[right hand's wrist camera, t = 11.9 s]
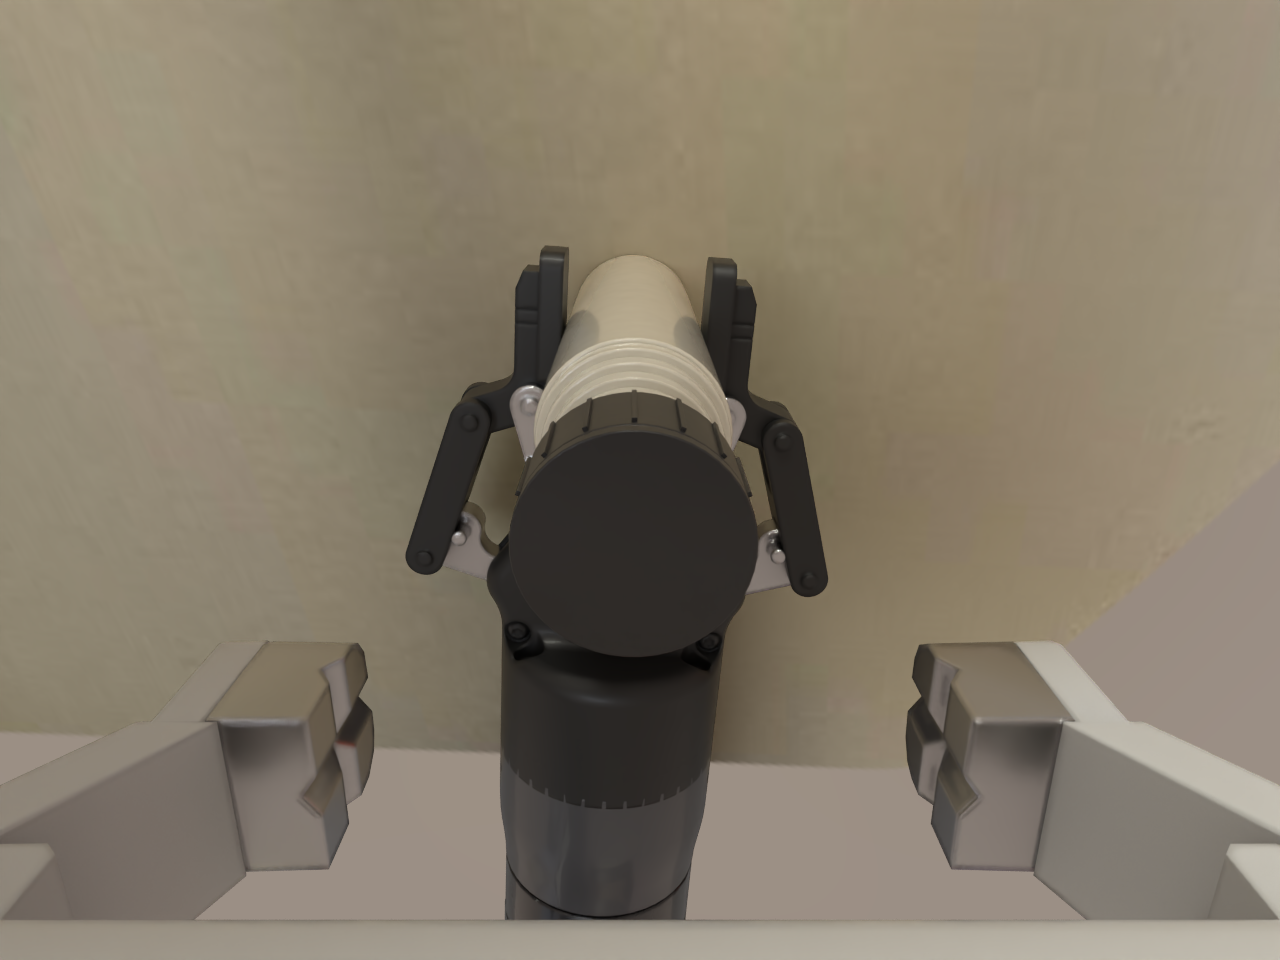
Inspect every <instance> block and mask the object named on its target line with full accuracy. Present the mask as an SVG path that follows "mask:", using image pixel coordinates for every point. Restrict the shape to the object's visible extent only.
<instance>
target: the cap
mask: <svg viewBox="0 0 1280 960" xmlns="http://www.w3.org/2000/svg"><path fill="white" fill-rule="evenodd" d="M515 495H517V496H519V497H518V500H517V503H516V506H515V509H514V512H513V517H512V521H511V525H510V531H509V535H508V539H509V556H510V561H511V566H512V571H513V574H514V577H515V580H516V583H517V585H518V587H519V589H520V591H521V593H522V595H523V597H524V599H525V600H526V601H527V603H528V604H529V606H530V607H531V609H532V610H533V611H534V612H535V613H536V614H537V616H538V617H539V618H540V619H541V620H542V621H543V622H544V623H545V624H546V625H548V626H549V627H550V628H551V629H552V630H553V631H555V632H556V633H558V634H559V635H561V636H562V637H564V638H565V639H567V640H569V641H571V642H573V643H575V644H577V645H579V646H581V647H584V648H586V649H589V650H592V651H595V652H599V653H603V654H607V655H614V656H622V657H645V656H654V655H659V654H664V653H668V652H672V651H675V650H678V649H680V648H683V647H686V646H688V645H690V644H692V643H694V642H696V641H698V640H700V639H702V638H703V637H705V636H706V635H708V634H709V633H711V632H712V631H713V630H715V629H716V628H717V627H718V626H719V625H721V624H722V623H723V622H724V621H725V620H726V619H727V618H728V617H729V616H730V615H731V613H732V612H733V611H734V610H735V609H736V607H737V606H738V604H739V603H740V602H741V600H742V599H743V597H744V595H745V593H746V591H747V589H748V587H749V585H750V583H751V580H752V577H753V574H754V572H755V567H756V562H757V557H758V540H759V535H758V530H757V524H756V519H755V515H754V511H753V508H752V505H751V502H750V499H749V497H751V496H752V493H751V490H750V487H749V484H748V481H747V478H746V476H745V473H744V470H743V467H742V464H741V461H740V458H739V457H737V458H735V456H734V453H733V451H732V449H731V448H730V446H729V444H728V442H727V440H726V439H725V438H724V436H723V435H722V434H721V432H720V430H719V427H718V424H717V423H716V422H714V423H713V424H712V423H711V422H710V421H709V420H708V419H707V418H706V417H704V416H703V415H702V414H700V413H699V412H698V411H696V410H695V409H693V408H691V407H689V406H688V405H686V404H684V403H682V401H681V399H679V398H676V400H675V399H672V398H669V397H665V396H662V395H658V394H652V393H644V392H637V390H632V392H623V393H615V394H609V395H605V396H601V397H598V398H595V399H593V400H592V398H591V397H590V398H588V399H587V401H586V402H585V403H583V404H581V405H579V406H577V407H576V408H574V409H572V410H571V411H569V412H568V413H567V414H565V415H564V416H562V417H561V418H560V419H559V420H558V421H557V422H556V423H555V422H554V421H552V422H551V423H550V426H549V429H548V431H547V432H546V434H545V435H544V436H543V438H542V439H541V440H540V442H539V444H538V446H537V447H536V449H535V451H534V453H533V455H532V457H530V456H528V458H527V461H526V464H525V467H524V470H523V473H522V476H521V479H520V482H519V485H518V488H517V491H516V494H515Z"/></svg>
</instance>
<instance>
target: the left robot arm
mask: <svg viewBox="0 0 1280 960" xmlns="http://www.w3.org/2000/svg"><path fill="white" fill-rule="evenodd" d="M568 268H569V247H560V246H544V248H543V249H542V250H541V253H540V264H539V265H528V266H527V267H526V268H525V269H524V270H523V272H522V274H521V277H520V279H519V281H518V284H517V286H516V293H515V354H514V373H513V374H512V375H510V376H509V377H507V378H505V379H502V380H499V381H495V382H492V383H485V382H477V383H474V384H472V385H471V386H469V387H468V388H467V390H466V391H465V393H464V394H463V396H462V399H461V401H460V402H459V403H458V404H457V405H456V406H455V407H454V409H453V410H452V412H451V414H450V417H449V420H448V423H447V426H446V429H445V432H444V436H443V439H442V442H441V445H440V448H439V451H438V454H437V457H436V460H435V464H434V467H433V470H432V473H431V476H430V479H429V482H428V485H427V488H426V492H425V495H424V498H423V501H422V504H421V507H420V510H419V513H418V516H417V519H416V523H415V526H414V529H413V532H412V535H411V538H410V541H409V544H408V547H407V551H406V561H407V564H408V565H409V567H410V568H411V569H412V570H413V571H415V572H417V573H419V574H424V575H429V574H433V573H435V572H437V571H438V570H439V569H440V568H441V567H442V566H445V567H448V568H451V569H454V570H457V571H460V572H463V573H466V574H469V575H472V576H475V577H478V578H481V579H484V580H487V586H488V590H489V592H490V594H491V596H492V598H493V599H494V601H495V602H496V604H497V606H498V608H499V611H500V614H501V617H502V683H501V760H500V798H501V812H502V819H503V825H504V830H505V838H506V852H507V853H506V899H505V920H685V917H686V907H687V898H688V888H689V880H690V871H691V861H692V856H693V850H694V846H695V842H696V839H697V836H698V832H699V829H700V826H701V822H702V818H703V813H704V807H705V800H706V791H707V783H708V775H709V766H710V758H711V749H712V740H713V731H714V723H715V714H716V706H717V697H718V688H719V680H720V671H721V663H722V654H723V645H724V638H725V633H726V629H727V627H728V625H729V623H730V621H731V619H732V618H733V616H734V615H735V614H736V613H737V611H738V610H739V609H740V607H741V606H742V604H743V602H744V599H745V595H747V594H752V593H756V592H761V591H766V590H770V589H775V588H780V587H785V586H789V585H791V587H792V589H793V590H794V592H796V593H797V594H798V595H800V596H804V597H812V596H816V595H818V594H820V593H821V592H822V591H823V590H824V589H825V587H826V586H827V583H828V574H827V569H826V563H825V558H824V552H823V547H822V541H821V536H820V530H819V525H818V519H817V514H816V508H815V503H814V497H813V492H812V486H811V480H810V475H809V469H808V464H807V458H806V453H805V447H804V442H803V437H802V434H801V432H800V430H799V428H798V427H797V425H796V423H795V422H794V420H793V418H792V417H791V415H790V413H789V411H788V410H787V408H786V407H785V406H784V405H783V404H781V403H779V402H775V401H770V402H769V401H767V400H765V399H762V398H760V397H758V396H756V395H754V394H752V393H751V392H750V391H749V390H748V376H749V367H750V359H751V350H752V341H753V340H752V339H753V332H754V323H755V315H756V306H757V304H756V301H755V297H754V293H753V290H752V287H751V285H750V284H749V283H748V282H747V281H746V280H740V279H737V265H736V263H735V262H734V261H733V260H732V259H727V258H713V257H709V258H708V262H707V269H706V280H705V290H704V301H703V312H702V323H701V333H702V335H703V338H704V341H705V343H706V346H707V349H708V351H709V354H710V357H711V359H712V362H713V365H714V368H715V370H716V373H717V376H718V378H719V381H720V384H721V386H722V389H723V392H724V394H725V397H726V400H727V402H728V405H729V409H730V413H731V418H732V428H733V435H732V446H731V449H732V451H733V450H734V448H735V446H736V443H737V441H738V440H739V441H742V442H744V443H746V444H749V445H751V446H753V447H756V448H758V450H759V455H760V460H761V465H762V470H763V475H764V480H765V485H766V490H767V495H768V500H769V505H770V510H771V515H772V519H771V520H767V521H764V522H762V523H761V524H759V525H758V526H757V530H758V535H759V540H758V557H757V562H756V567H755V572H754V574H753V577H752V580H751V583H750V585H749V587H748V589H747V591H746V593H745V595H744V597H743V599H742V600H741V602H740V603H739V604H738V606H737V607H736V609H735V610H734V611H733V612H732V613H731V615H730V616H729V617H728V618H727V619H726V620H725V621H724V622H723V623H722V624H721V625H719V626H718V627H717V628H716V629H715V630H713V631H712V632H711V633H709V634H708V635H706V636H705V637H703V638H702V639H700V640H698V641H696V642H694V643H692V644H690V645H688V646H686V647H683V648H680V649H678V650H675V651H672V652H668V653H664V654H659V655H654V656H645V657H622V656H614V655H607V654H603V653H599V652H595V651H592V650H589V649H586V648H584V647H581V646H579V645H577V644H575V643H573V642H571V641H569V640H567V639H565V638H564V637H562V636H561V635H559V634H558V633H556V632H555V631H553V630H552V629H551V628H550V627H549V626H548V625H546V624H545V623H544V622H543V621H542V620H541V619H540V618H539V617H538V616H537V614H536V613H535V612H534V611H533V610H532V609H531V607H530V606H529V604H528V603H527V601H526V600H525V599H524V597H523V595H522V593H521V591H520V589H519V587H518V585H517V583H516V580H515V577H514V574H513V571H512V566H511V561H510V556H509V539H508V535H509V533H508V535H507V536H506V537H505V538H504V539H503V540H502V542H501V543H500V544H499V545H497V544H495V543H493V542H492V541H491V540H490V539H489V538H488V537H487V535H486V533H485V522H486V517H485V514H484V512H483V510H482V509H481V508H480V507H479V506H478V505H476V504H474V503H472V502H469V501H468V499H469V496H470V494H471V491H472V488H473V485H474V482H475V479H476V476H477V473H478V470H479V467H480V464H481V461H482V458H483V455H484V453H485V450H486V447H487V444H488V441H489V438H490V435H491V433H493V432H496V431H500V430H504V429H507V428H511V427H514V426H515V428H516V431H517V435H518V438H519V441H520V445H521V448H522V452H523V455H524V459H525V464H526V461H527V458H528V456H530V457H532V455H533V453H534V451H535V445H534V420H535V414H536V410H537V406H538V403H539V400H540V397H541V395H542V392H543V389H544V386H545V384H546V381H547V378H548V375H549V373H550V370H551V367H552V364H553V362H554V359H555V356H556V353H557V351H558V348H559V345H560V342H561V339H562V337H563V334H564V331H565V328H566V322H567V295H568Z"/></svg>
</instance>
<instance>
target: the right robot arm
mask: <svg viewBox="0 0 1280 960" xmlns="http://www.w3.org/2000/svg"><path fill="white" fill-rule="evenodd" d="M367 678H368V674H367V668H366V662H365V655H364V651H363V650H362V648H361V647H360V645H359V644H358V643H328V642H276V641H273V642H269V641H230V642H224V643H220V644H219V645H218V646H217V647H216V648H215V649H214V650H213V651H212V652H211V654H210V655H209V656H208V657H207V658H206V659H205V660H204V662H203V663H202V664H201V665H200V666H199V667H198V668H197V670H196V671H195V672H194V673H193V674H192V675H191V676H190V678H189V679H188V680H187V681H186V682H185V683H184V684H183V686H182V687H181V688H180V689H179V690H178V691H177V692H176V694H175V695H174V696H173V697H172V698H171V699H170V700H169V702H168V703H167V704H166V705H165V706H164V707H163V708H162V710H161V711H160V712H159V713H158V714H157V715H156V716H155V718H154V719H153V720H152V721H151V722H135V723H133V724H131V725H128V726H126V727H124V728H122V729H120V730H118V731H116V732H113V733H111V734H109V735H107V736H105V737H103V738H101V739H98V740H96V741H94V742H92V743H90V744H88V745H86V746H84V747H81V748H79V749H77V750H75V751H73V752H71V753H69V754H66V755H64V756H62V757H60V758H58V759H56V760H53V761H51V762H49V763H47V764H45V765H43V766H41V767H38V768H36V769H34V770H32V771H30V772H28V773H26V774H23V775H21V776H19V777H17V778H15V779H13V780H11V781H8V782H6V783H4V784H2V785H0V960H1280V785H1278V784H1276V783H1273V782H1271V781H1269V780H1267V779H1265V778H1263V777H1261V776H1258V775H1256V774H1254V773H1252V772H1250V771H1248V770H1246V769H1243V768H1241V767H1239V766H1237V765H1235V764H1233V763H1231V762H1228V761H1226V760H1224V759H1222V758H1220V757H1218V756H1216V755H1213V754H1211V753H1209V752H1207V751H1205V750H1203V749H1201V748H1199V747H1196V746H1194V745H1192V744H1190V743H1188V742H1186V741H1184V740H1181V739H1179V738H1177V737H1175V736H1173V735H1171V734H1168V733H1166V732H1164V731H1162V730H1160V729H1158V728H1156V727H1154V726H1152V725H1149V724H1147V723H1145V722H1129V721H1128V720H1127V719H1126V718H1125V717H1124V715H1123V714H1122V713H1121V712H1120V711H1119V710H1118V709H1117V707H1116V706H1115V705H1114V704H1113V703H1112V702H1111V701H1110V699H1109V698H1108V697H1107V696H1106V695H1105V694H1104V693H1103V691H1102V690H1101V689H1100V688H1099V687H1098V686H1097V685H1096V683H1095V682H1094V681H1093V680H1092V679H1091V678H1090V677H1089V675H1088V674H1087V673H1086V672H1085V671H1084V670H1083V669H1082V667H1081V666H1080V665H1079V664H1078V663H1077V662H1076V661H1075V659H1074V658H1073V657H1072V656H1071V655H1070V654H1069V653H1068V651H1067V650H1066V649H1065V648H1064V647H1063V646H1062V645H1061V644H1059V643H1057V642H1054V641H1052V640H1048V641H1024V642H980V643H939V644H923V645H919V647H918V650H917V653H916V656H915V659H914V667H913V674H912V678H913V680H914V682H915V684H916V686H917V688H918V690H919V692H920V694H921V698H920V699H919V700H918V701H917V702H916V703H915V704H914V705H913V706H912V707H911V708H910V709H909V711H908V716H907V727H906V749H907V761H908V765H909V770H910V774H911V777H912V780H913V783H914V785H915V788H916V790H917V792H918V795H920V796H921V797H922V798H924V799H925V800H927V801H928V802H930V803H931V804H932V805H933V811H932V819H931V825H932V827H933V829H934V831H935V834H936V836H937V838H938V840H939V843H940V845H941V847H942V849H943V852H944V854H945V856H946V858H947V860H948V863H949V865H950V867H951V869H958V870H994V871H1032V872H1034V876H1035V877H1036V878H1037V879H1039V880H1040V881H1041V882H1042V883H1043V884H1044V885H1046V886H1047V887H1048V888H1049V889H1050V890H1052V891H1053V892H1054V893H1055V894H1056V895H1058V896H1059V897H1060V898H1061V899H1062V900H1064V901H1065V902H1066V903H1067V904H1068V905H1069V906H1071V907H1072V908H1073V909H1074V910H1075V911H1077V912H1078V913H1079V914H1080V915H1081V916H1083V917H1084V918H1085V919H1086V920H194V919H195V918H197V917H198V916H199V915H200V914H201V913H203V912H204V911H205V910H206V909H207V908H208V907H210V906H211V905H212V904H213V903H214V902H216V901H217V900H218V899H219V898H220V897H222V896H223V895H224V894H225V893H226V892H228V891H229V890H230V889H231V888H232V887H234V886H235V885H236V884H237V883H238V882H240V881H241V880H242V879H243V878H244V877H245V876H246V872H249V871H284V870H319V869H329V867H330V865H331V863H332V861H333V858H334V856H335V854H336V852H337V849H338V847H339V845H340V843H341V840H342V838H343V836H344V834H345V831H346V829H347V827H348V825H349V819H348V811H347V805H348V804H349V803H350V802H352V801H353V800H355V799H356V798H358V797H359V796H360V795H362V792H363V790H364V788H365V785H366V783H367V780H368V778H369V774H370V769H371V764H372V758H373V753H374V724H373V715H372V711H371V709H370V708H369V707H368V706H367V705H366V704H365V703H364V702H363V701H362V700H361V699H360V698H359V694H360V692H361V690H362V688H363V686H364V684H365V682H366V680H367Z"/></svg>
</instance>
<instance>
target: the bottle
mask: <svg viewBox="0 0 1280 960" xmlns="http://www.w3.org/2000/svg"><path fill="white" fill-rule="evenodd" d="M632 390H637V392H644V393H652V394H658V395H662V396H665V397H669V398H672V399H675V400H676V398H679V399H681V401H682V403H684V404H686V405H688V406H689V407H691V408H693V409H695V410H696V411H698V412H699V413H700V414H702V415H703V416H704V417H706V418H707V419H708V420H709V421H710V422H711V423H712V424H713V423H714V422H716V423H717V424H718V427H719V430H720V432H721V434H722V435H723V436H724V438H725V439H726V440H727V442H728V444H729V446H730V448H731V446H732V435H733V428H732V418H731V413H730V409H729V405H728V402H727V400H726V397H725V394H724V392H723V389H722V386H721V384H720V381H719V378H718V376H717V373H716V370H715V368H714V365H713V362H712V359H711V357H710V354H709V351H708V349H707V346H706V343H705V341H704V338H703V335H702V333H701V330H700V327H699V325H698V322H697V319H696V317H695V314H694V311H693V308H692V306H691V303H690V300H689V298H688V295H687V292H686V290H685V288H684V286H683V284H682V282H681V281H680V279H679V278H678V277H677V275H676V274H675V273H674V272H673V271H672V270H671V269H670V268H668V267H667V266H666V265H664V264H663V263H661V262H659V261H657V260H655V259H652V258H649V257H646V256H640V255H625V256H620V257H616V258H613V259H610V260H608V261H606V262H604V263H602V264H601V265H599V266H598V267H597V268H596V269H594V270H593V271H592V272H591V273H590V274H589V275H588V277H587V278H586V279H585V281H584V282H583V284H582V286H581V288H580V290H579V293H578V295H577V298H576V301H575V304H574V306H573V309H572V312H571V315H570V317H569V320H568V323H567V326H566V328H565V331H564V334H563V337H562V339H561V342H560V345H559V348H558V351H557V353H556V356H555V359H554V362H553V364H552V367H551V370H550V373H549V375H548V378H547V381H546V384H545V386H544V389H543V392H542V395H541V397H540V400H539V403H538V406H537V410H536V414H535V420H534V445H535V449H536V447H537V446H538V444H539V442H540V440H541V439H542V438H543V436H544V435H545V434H546V432H547V431H548V429H549V426H550V423H551V422H552V421H554V422H555V423H556V422H557V421H558V420H559V419H560V418H561V417H562V416H564V415H565V414H567V413H568V412H569V411H571V410H572V409H574V408H576V407H577V406H579V405H581V404H583V403H585V402H586V401H587V399H588V398H590V397H591V398H592V400H593V399H595V398H598V397H601V396H605V395H609V394H615V393H623V392H632Z"/></svg>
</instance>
